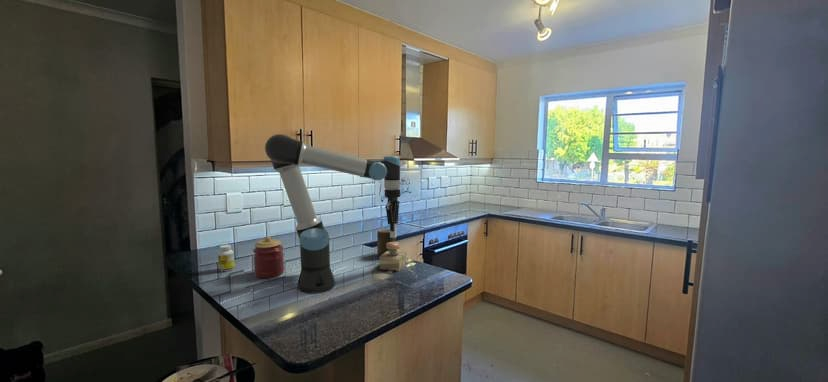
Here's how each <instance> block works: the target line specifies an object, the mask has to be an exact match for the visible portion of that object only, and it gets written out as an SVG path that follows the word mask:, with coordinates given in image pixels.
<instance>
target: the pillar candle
mask: <svg viewBox="0 0 828 382" xmlns="http://www.w3.org/2000/svg"><path fill="white" fill-rule="evenodd" d="M376 232H377V233H376V235H377V238H376V239H377V240H376V242H377V243H376V246H377V248H376V249H377V251H376V252H377V256H378V258H379V257H380V256H381V255H382V254H384V253H385V252H386V251H389V249H387V248H386V243H388V242H396V238H390V228H379V229H377V230H376Z"/></svg>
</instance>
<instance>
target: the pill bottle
mask: <svg viewBox="0 0 828 382" xmlns="http://www.w3.org/2000/svg"><path fill="white" fill-rule="evenodd" d="M219 250H220V251H219V252H218V253H217V257H218V270H219V271H220V272H223V271H225V272H230V270H231V271H233V270H234V269H235V254H234V252H235V251H233V250H232V245H231V244H223V245H220V246H219Z"/></svg>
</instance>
